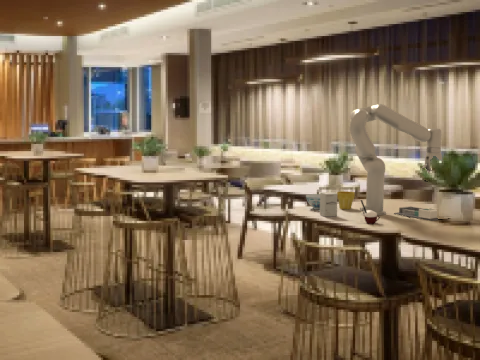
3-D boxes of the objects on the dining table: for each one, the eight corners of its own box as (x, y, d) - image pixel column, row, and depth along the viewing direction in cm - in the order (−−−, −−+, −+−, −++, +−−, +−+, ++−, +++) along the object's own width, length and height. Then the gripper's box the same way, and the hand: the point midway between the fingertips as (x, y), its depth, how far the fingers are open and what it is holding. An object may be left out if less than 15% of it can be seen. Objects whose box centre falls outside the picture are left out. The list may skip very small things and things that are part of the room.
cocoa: (379, 222, 311) (379, 199, 310) (379, 224, 305) (379, 200, 303) (360, 221, 313) (360, 198, 312) (359, 223, 307) (360, 200, 305)
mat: (432, 220, 316) (432, 219, 316) (393, 214, 339) (393, 213, 339) (450, 218, 323) (450, 217, 323) (411, 212, 346) (411, 211, 346)
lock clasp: (429, 218, 317) (430, 211, 317) (418, 216, 324) (418, 209, 323) (442, 217, 323) (442, 209, 322) (431, 215, 329) (431, 208, 329)
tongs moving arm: (429, 214, 330) (429, 209, 330) (411, 211, 341) (412, 206, 340) (431, 214, 331) (431, 209, 331) (414, 211, 342) (414, 206, 341)
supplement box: (324, 216, 328) (325, 193, 327) (319, 214, 336) (319, 192, 334) (337, 216, 330) (337, 193, 329) (331, 214, 337) (332, 191, 336)
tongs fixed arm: (420, 216, 326) (420, 211, 326) (398, 212, 339) (398, 207, 339) (432, 215, 331) (432, 209, 331) (410, 211, 344) (410, 206, 344)
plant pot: (357, 209, 356) (358, 192, 355) (342, 210, 353) (342, 193, 352) (348, 207, 366) (348, 190, 365) (333, 207, 362) (333, 191, 361)
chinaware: (336, 208, 359) (336, 195, 358) (321, 211, 348) (322, 198, 347) (315, 206, 369) (315, 193, 368) (300, 208, 358) (301, 195, 357)
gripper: (428, 151, 329) (427, 182, 331) (449, 150, 339) (448, 180, 340) (417, 150, 336) (416, 181, 337) (438, 150, 345) (437, 179, 347)
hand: (432, 181), depth 339 cm, fingers open, 9 cm apart
